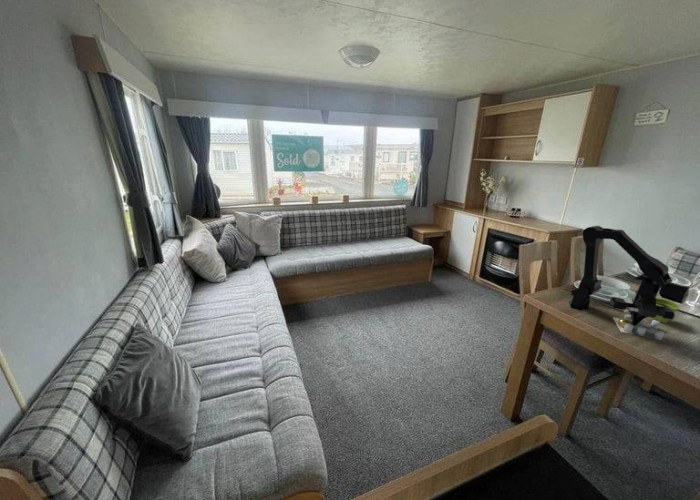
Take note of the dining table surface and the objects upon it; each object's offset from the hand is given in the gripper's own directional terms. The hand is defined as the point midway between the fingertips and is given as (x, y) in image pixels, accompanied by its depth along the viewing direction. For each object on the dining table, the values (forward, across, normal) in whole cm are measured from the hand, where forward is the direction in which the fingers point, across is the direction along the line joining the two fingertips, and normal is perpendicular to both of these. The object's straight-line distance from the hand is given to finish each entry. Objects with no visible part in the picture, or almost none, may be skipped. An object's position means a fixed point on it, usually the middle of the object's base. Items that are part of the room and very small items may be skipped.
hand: (633, 325), depth 123 cm
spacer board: (+2, +2, 0) cm, 2 cm away
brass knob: (+1, -3, 0) cm, 3 cm away
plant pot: (+2, +13, +15) cm, 20 cm away
